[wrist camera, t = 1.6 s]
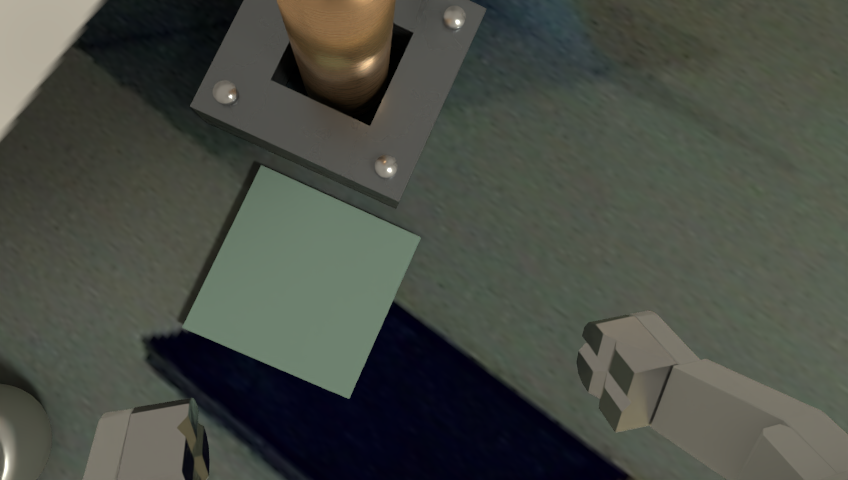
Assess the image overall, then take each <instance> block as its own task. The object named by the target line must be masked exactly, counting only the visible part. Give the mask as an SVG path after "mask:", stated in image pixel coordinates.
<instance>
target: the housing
mask: <svg viewBox="0 0 848 480" xmlns="http://www.w3.org/2000/svg"><path fill="white" fill-rule="evenodd" d="M485 11H486V8H484V7H482V6H479V5H477V4H475V3H473V2H471V1H469V0H396V2H395V11H394V21H393V30H392V40H391V46H392V47H394V48H396V49H398V50H400V51H402V52H404V55H403V57H402V59H401V61H400V63H399V65H398V67H397V70H396V72H395V74H394V76H393V78H392V80H391V82H390V85H389V87H388V89H387V91H386V93H385V95H384V97H383V100H382V102H381V104H380V106H379V108H378V110H377V112H376V115H375V117H374V119H373V121H372V123H371V125H370V126H369V125H367V124H364V123H362V122H360V121H358V120H356V119H354V118H351V117H349V116H347V115H345V114H343V113H341V112H339V111H336V110H334V109H332V108H330V107H328V106H326V105H323V104H321V103H319V102H317V101H315V100H313V99H311V98H308V97H306V96H304V95H302V94H300V93H298V92H296V91H293V90H291V89H289V88H287V87H285V86H286V84H287V82H288V80H289V78H290V75H291V73H292V71H293V69H294V67H295V65H296V63H297V62H296V59H295V56H294V53H293V50H292V47H291V44H290V41H289V38H288V34H287V31H286V28H285V25H284V22H283V19H282V16H281V13H280V10H279V7H278V4H277V1H276V0H244V1H243V3H242V5H241V6H240V8H239V10H238V12H237V14H236V16H235V18H234V20H233V22H232V24H231V26H230V28H229V30H228V32H227V34H226V36H225V38H224V40H223V42H222V44H221V46H220V48H219V50H218V52H217V54H216V56H215V58H214V60H213V62H212V64H211V65H210V67H209V69H208V71H207V73H206V75H205V77H204V79H203V81H202V83H201V85H200V87H199V89H198V91H197V93H196V95H195V97H194V99H193V101H192V103H191V105H190V107H191V108H192V109H193V110H194V111H195V112H196V113H197V114H198V115H199V116H200V117H201V118H202V119H203V120H204V121H205V122H206V123H209V124H211V125H213V126H215V127H217V128H220V129H222V130H224V131H226V132H228V133H230V134H233V135H235V136H237V137H239V138H241V139H244V140H246V141H248V142H250V143H252V144H255V145H257V146H259V147H261V148H263V149H266V150H268V151H270V152H272V153H274V154H277V155H279V156H281V157H283V158H285V159H288V160H290V161H292V162H294V163H296V164H299V165H301V166H303V167H305V168H307V169H310V170H312V171H314V172H316V173H318V174H321V175H323V176H325V177H327V178H329V179H332V180H334V181H336V182H338V183H340V184H343V185H345V186H347V187H349V188H351V189H354V190H356V191H358V192H360V193H362V194H365V195H367V196H369V197H371V198H373V199H376V200H378V201H380V202H382V203H384V204H386V205H389V206H391V207H393V208H395V209H396V208H397V206H398V203H399V201H400V199H401V197H402V195H403V192H404V190H405V188H406V186H407V184H408V181H409V179H410V177H411V175H412V173H413V170H414V168H415V166H416V164H417V162H418V159H419V157H420V155H421V153H422V150H423V148H424V146H425V144H426V142H427V139H428V137H429V135H430V133H431V131H432V128H433V126H434V124H435V122H436V120H437V117H438V115H439V113H440V111H441V109H442V106H443V104H444V102H445V100H446V98H447V95H448V93H449V91H450V89H451V86H452V84H453V82H454V80H455V78H456V75H457V73H458V71H459V69H460V67H461V64H462V62H463V60H464V58H465V56H466V53H467V51H468V49H469V47H470V45H471V42H472V40H473V38H474V36H475V34H476V31H477V29H478V27H479V25H480V22H481V20H482V18H483V16H484V13H485Z"/></svg>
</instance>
